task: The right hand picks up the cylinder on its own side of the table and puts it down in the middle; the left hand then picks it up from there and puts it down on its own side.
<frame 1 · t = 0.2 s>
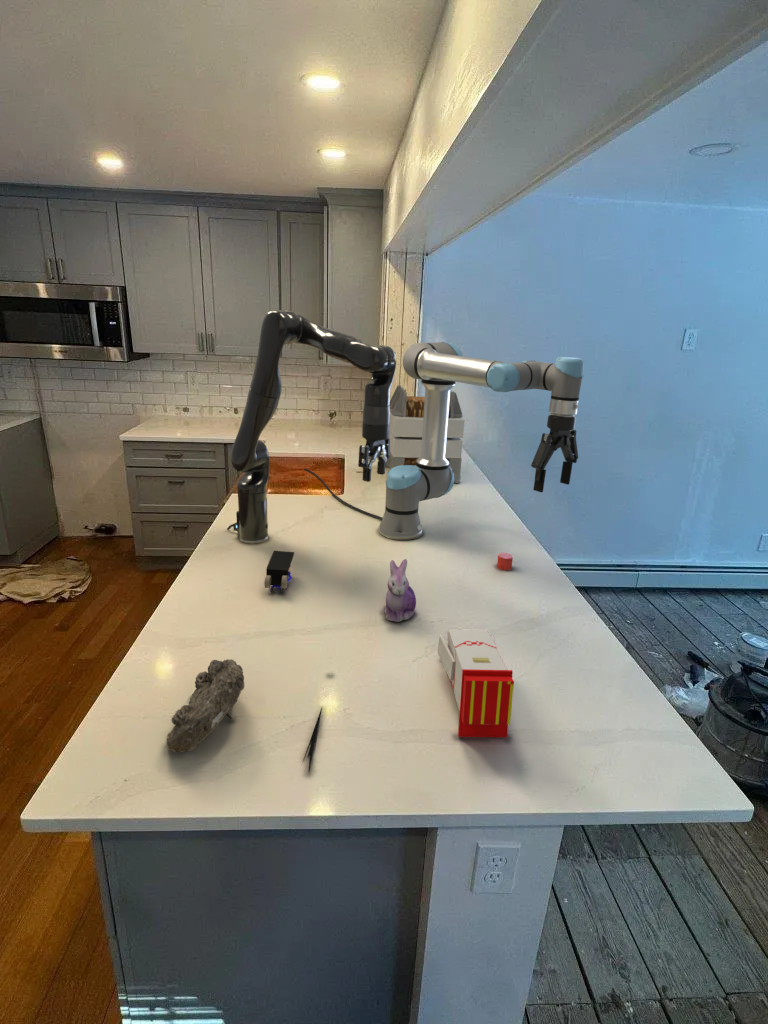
left hand: (373, 477, 161), 29 cm above the counter, tool pointing down, fingers open, 8 cm apart
right hand: (551, 487, 166), 28 cm above the counter, tool pointing down, fingers open, 13 cm apart
feather: (319, 719, 109), on the counter
black rover: (280, 584, 160), on the counter
toy: (469, 691, 119), on the counter
figurine: (399, 614, 147), on the counter
fossil: (212, 717, 108), on the counter
white wooden crate: (419, 473, 275), on the counter
cylinder: (504, 567, 177), on the counter
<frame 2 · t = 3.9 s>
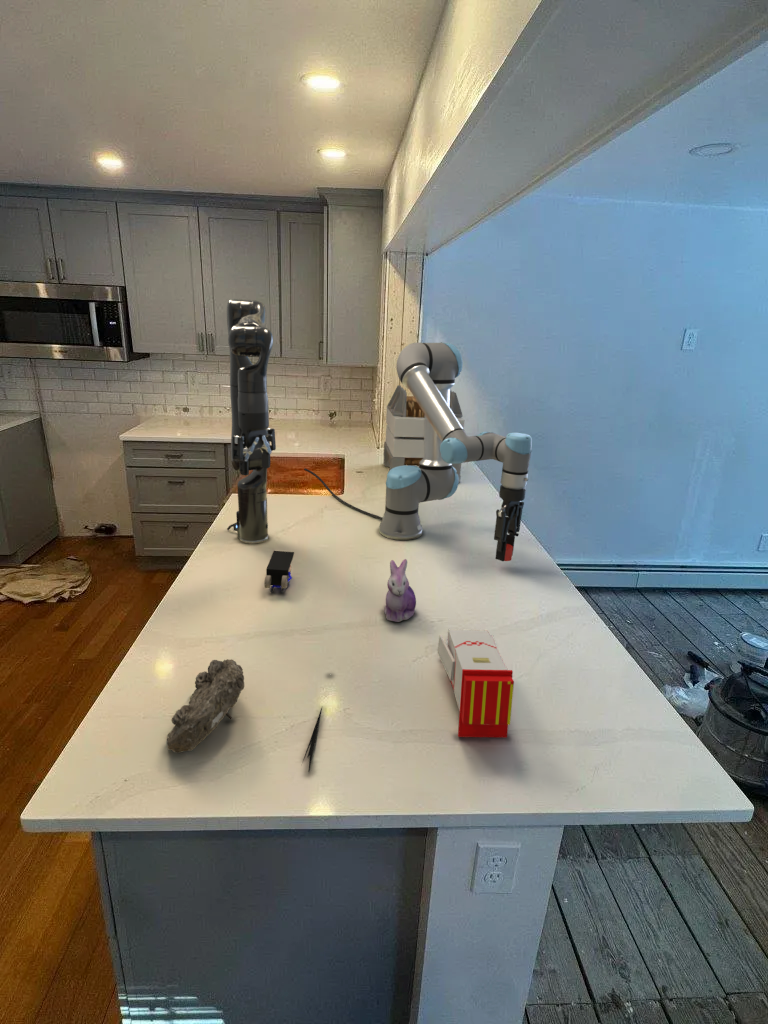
left hand: (255, 471, 149), 33 cm above the counter, tool pointing down, fingers open, 8 cm apart
right hand: (504, 557, 176), 3 cm above the counter, tool pointing down, fingers closed on cylinder, 5 cm apart
cylinder: (504, 558, 176), point 3 cm above the counter, touching right hand
everything else where it was.
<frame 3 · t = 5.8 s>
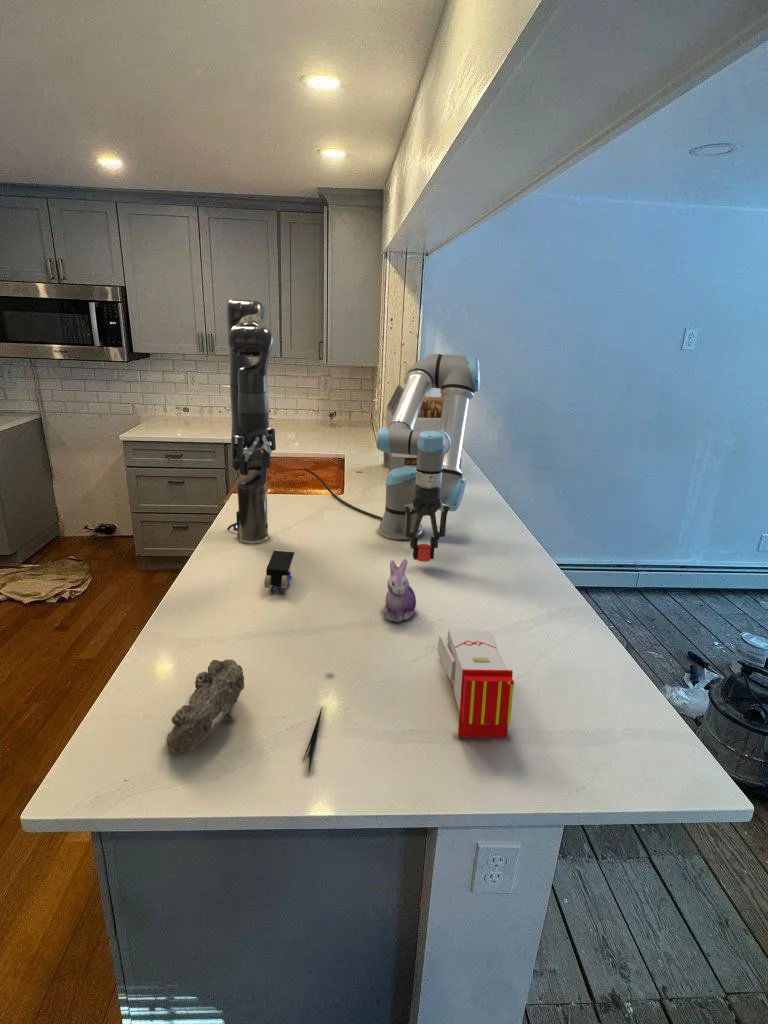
left hand: (255, 471, 149), 33 cm above the counter, tool pointing down, fingers open, 8 cm apart
right hand: (423, 557, 173), 3 cm above the counter, tool pointing down, fingers closed on cylinder, 5 cm apart
cylinder: (423, 558, 173), point 3 cm above the counter, touching right hand
everything else where it was.
when the right hand's fingers open (0 cm above the counter, at t = 8.0 s): cylinder stays where it is, on the counter.
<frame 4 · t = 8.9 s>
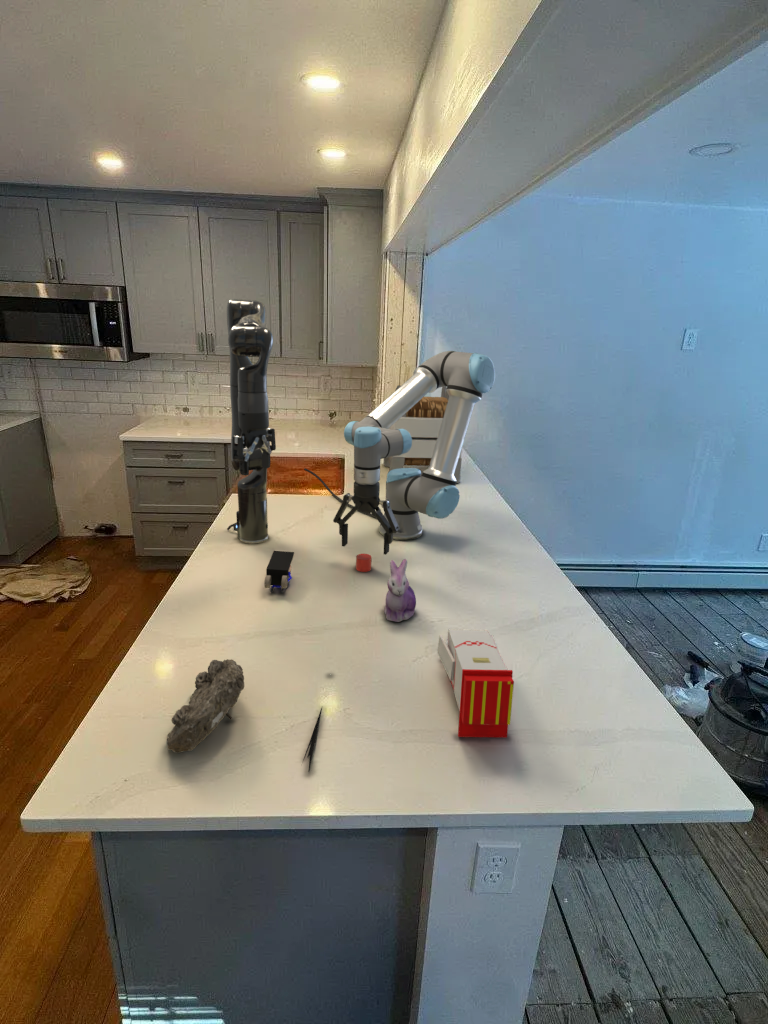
left hand: (255, 471, 149), 33 cm above the counter, tool pointing down, fingers open, 8 cm apart
right hand: (365, 548, 170), 6 cm above the counter, tool pointing down, fingers open, 13 cm apart
cylinder: (363, 568, 172), on the counter
everything else where it was.
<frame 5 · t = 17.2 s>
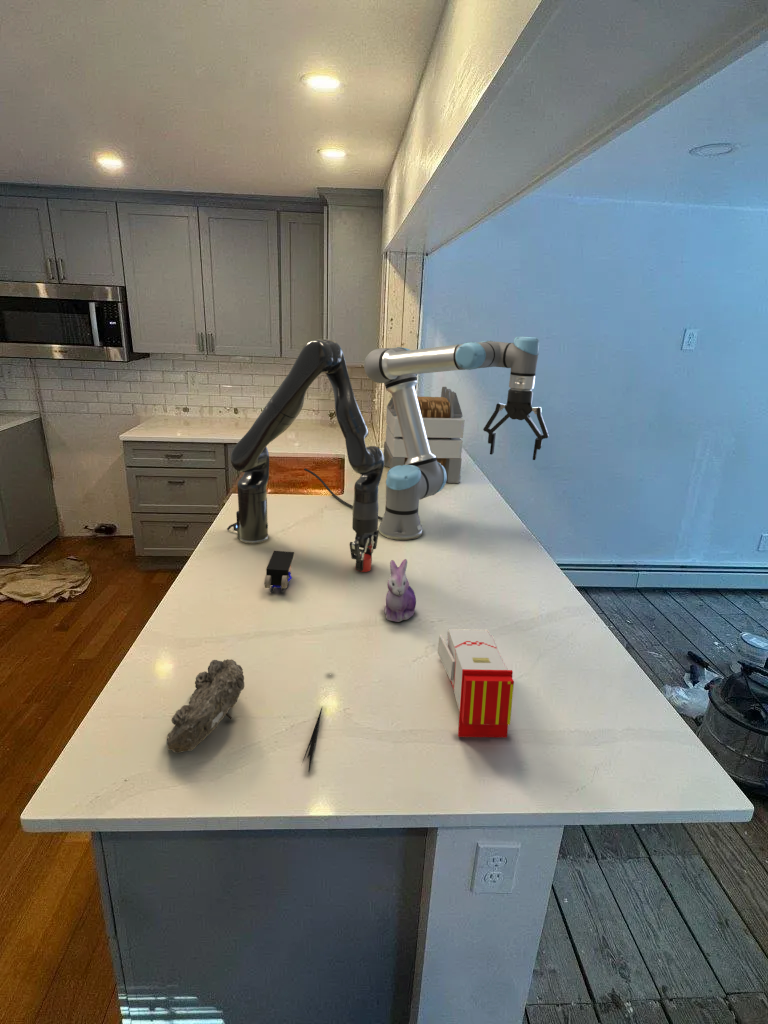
left hand: (363, 567, 172), 1 cm above the counter, tool pointing down, fingers closed on cylinder, 4 cm apart
right hand: (512, 456, 182), 32 cm above the counter, tool pointing down, fingers open, 13 cm apart
cylinder: (363, 568, 172), on the counter, touching left hand
everything else where it was.
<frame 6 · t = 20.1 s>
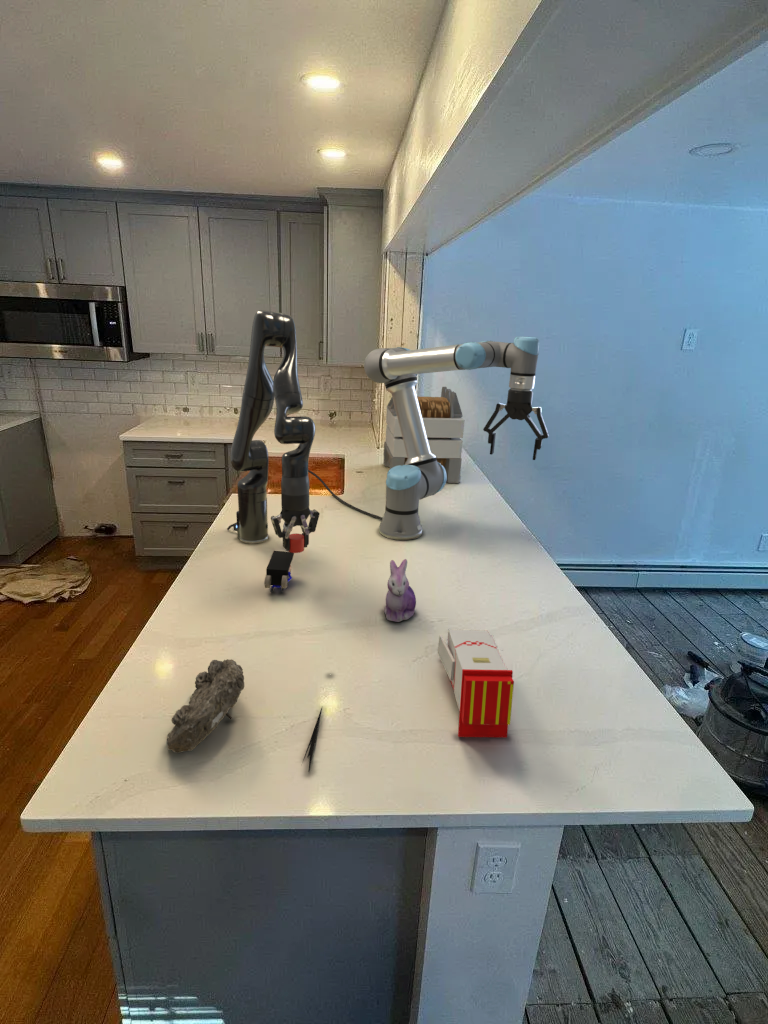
left hand: (295, 547, 159), 10 cm above the counter, tool pointing down, fingers closed on cylinder, 4 cm apart
right hand: (512, 456, 182), 32 cm above the counter, tool pointing down, fingers open, 13 cm apart
cylinder: (296, 549, 159), point 10 cm above the counter, touching left hand
everything else where it was.
when the left hand's fingers open (1 cm above the counter, at t = 23.6 s): cylinder stays where it is, on the counter.
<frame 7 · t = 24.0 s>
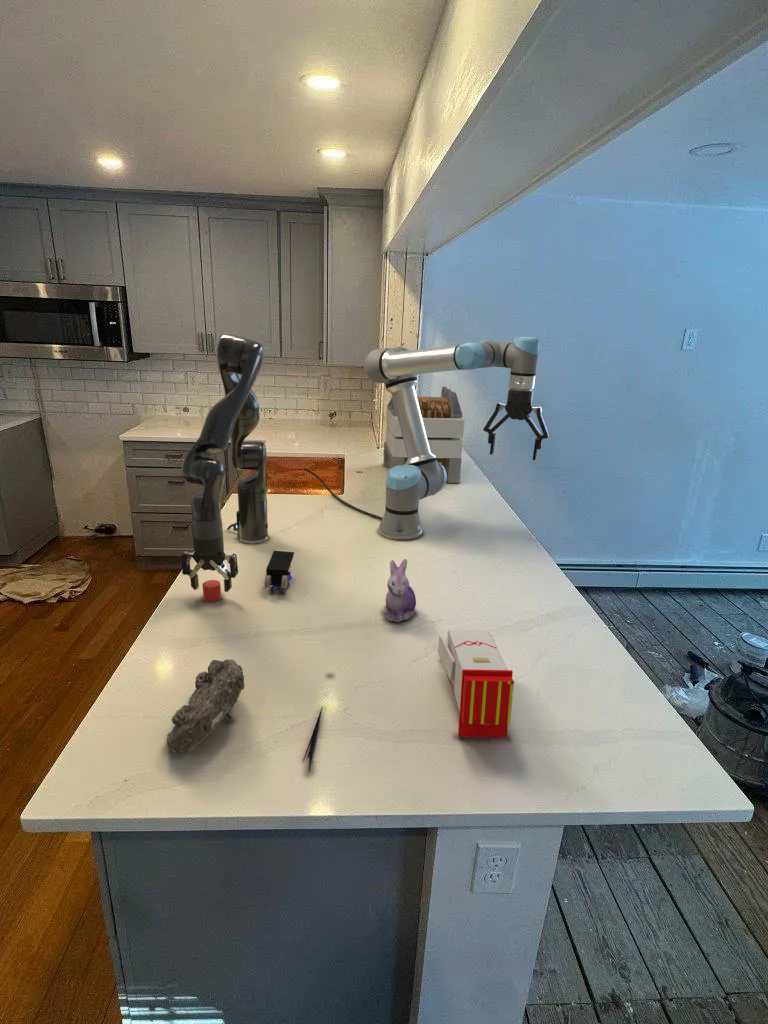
left hand: (211, 589, 151), 2 cm above the counter, tool pointing down, fingers open, 8 cm apart
right hand: (512, 456, 182), 32 cm above the counter, tool pointing down, fingers open, 13 cm apart
cylinder: (212, 597, 152), on the counter
everything else where it was.
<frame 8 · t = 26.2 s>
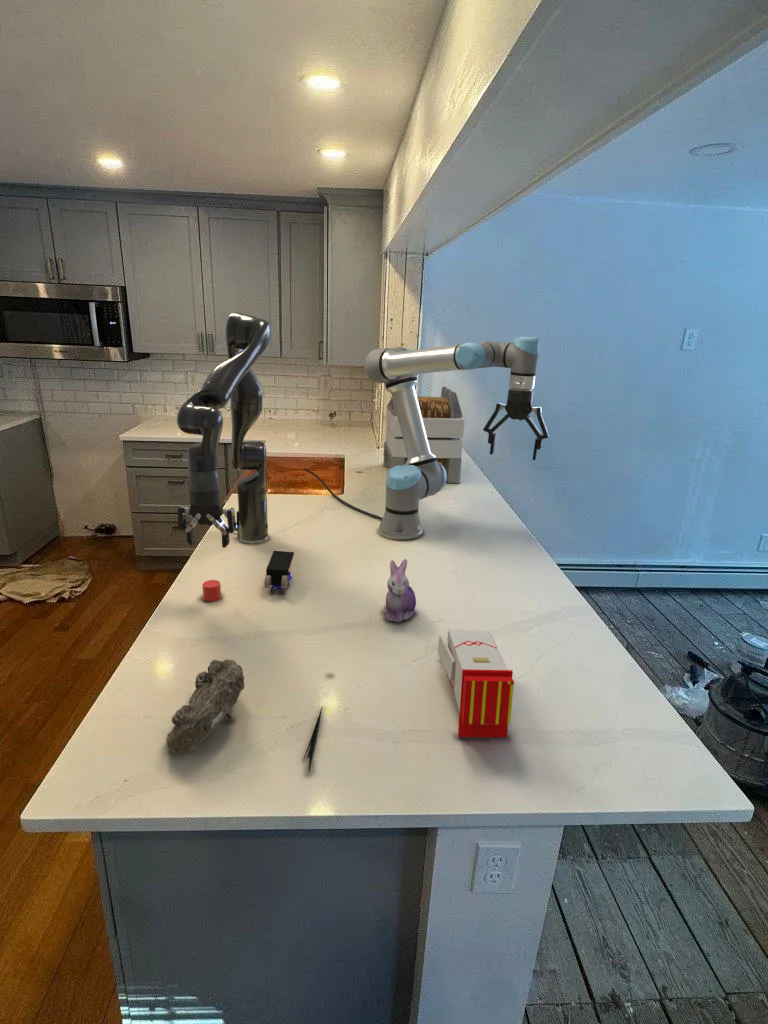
left hand: (208, 545, 147), 15 cm above the counter, tool pointing down, fingers open, 8 cm apart
right hand: (512, 456, 182), 32 cm above the counter, tool pointing down, fingers open, 13 cm apart
nothing on the counter moved.
at the end: cylinder inside the target area (0.0 cm from its centre), on the counter; cylinder tilted 0°; the two hands never held the cylinder at the same time; the left hand is holding nothing; the right hand is holding nothing; cylinder at rest at the end (0.0 cm/s) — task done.
